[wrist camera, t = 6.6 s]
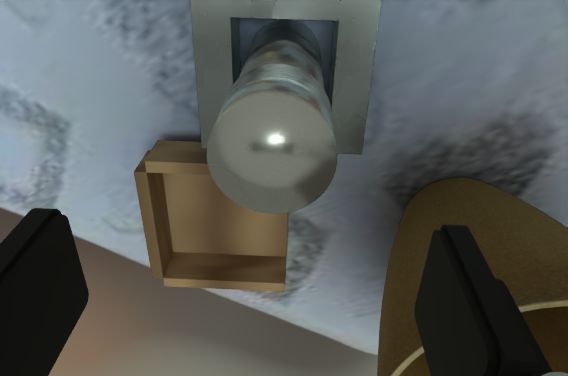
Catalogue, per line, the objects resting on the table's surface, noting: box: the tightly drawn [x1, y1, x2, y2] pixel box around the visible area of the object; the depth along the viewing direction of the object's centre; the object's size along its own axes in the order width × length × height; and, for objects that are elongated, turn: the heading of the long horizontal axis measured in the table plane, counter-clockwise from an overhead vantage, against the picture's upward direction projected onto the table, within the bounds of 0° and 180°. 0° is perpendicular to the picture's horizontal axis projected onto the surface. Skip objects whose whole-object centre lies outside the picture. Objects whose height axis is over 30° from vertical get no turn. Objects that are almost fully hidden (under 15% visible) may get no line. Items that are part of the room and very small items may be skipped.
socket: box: [190, 0, 382, 154], centre depth 25 cm, size 11×16×4 cm
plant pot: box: [377, 177, 568, 376], centre depth 28 cm, size 15×15×16 cm
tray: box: [134, 140, 288, 292], centre depth 33 cm, size 10×11×4 cm
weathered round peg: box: [207, 19, 337, 214], centre depth 23 cm, size 5×5×14 cm
